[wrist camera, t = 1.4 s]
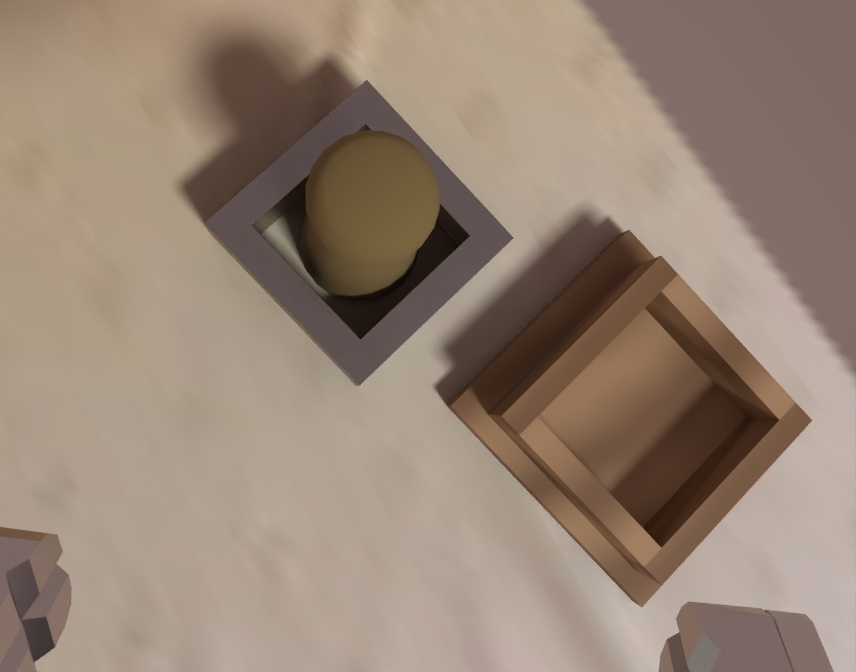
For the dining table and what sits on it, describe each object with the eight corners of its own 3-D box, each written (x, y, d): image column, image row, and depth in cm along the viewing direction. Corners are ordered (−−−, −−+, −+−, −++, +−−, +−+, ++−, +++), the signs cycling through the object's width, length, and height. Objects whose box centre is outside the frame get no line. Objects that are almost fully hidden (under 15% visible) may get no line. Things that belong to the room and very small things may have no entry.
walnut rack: (446, 405, 39) (462, 407, 35) (620, 234, 41) (654, 217, 37) (632, 600, 40) (668, 625, 36) (794, 423, 42) (846, 428, 38)
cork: (330, 163, 39) (337, 78, 28) (438, 216, 40) (483, 153, 29) (278, 269, 39) (263, 223, 28) (387, 322, 39) (415, 297, 28)
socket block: (212, 235, 38) (203, 223, 35) (363, 102, 40) (366, 79, 37) (355, 385, 39) (359, 385, 36) (498, 248, 40) (513, 237, 37)
